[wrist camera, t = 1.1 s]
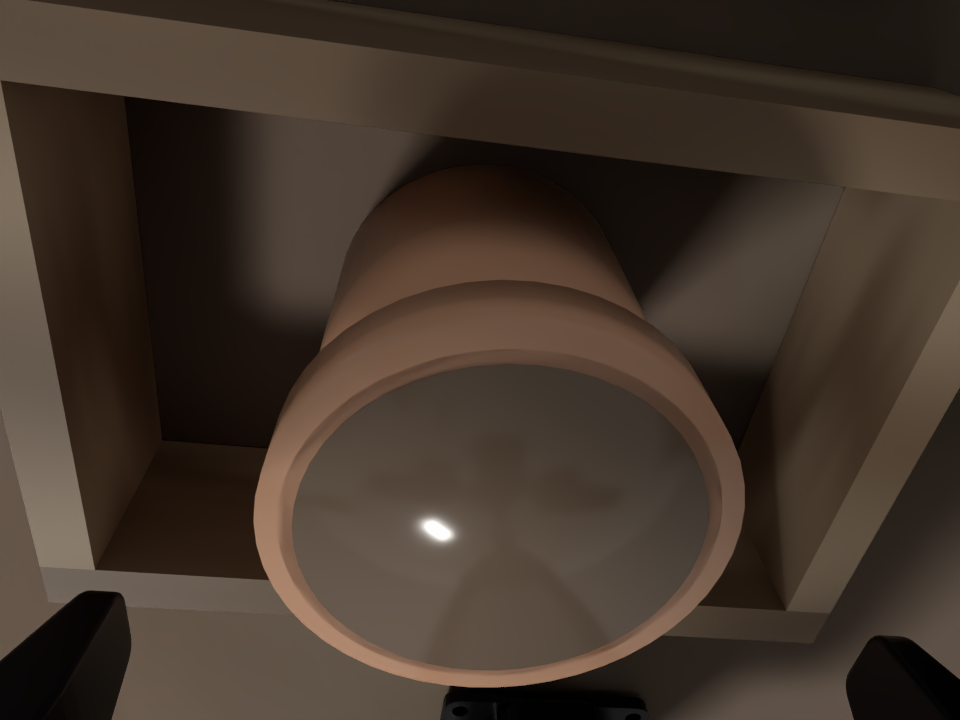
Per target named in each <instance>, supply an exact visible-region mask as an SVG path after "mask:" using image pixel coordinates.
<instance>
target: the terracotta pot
mask: <svg viewBox="0 0 960 720" xmlns="http://www.w3.org/2000/svg"><path fill="white" fill-rule="evenodd" d="M744 510H745V484H744V478H743V473H742V468H741V462H740V459H739V456H738V454H737V451H736V448H735V446H734V443H733V441H732V438H731V436H730V434H729V432H728V430H727V428H726V427H725V425H724V423H723V421H722V419H721V417H720V415H719V414H718V412H717V410H716V408H715V406H714V404H713V402H712V401H711V399H710V397H709V395H708V393H707V391H706V390H705V388H704V386H703V384H702V382H701V381H700V379H699V377H698V376H697V374H696V372H695V371H694V369H693V367H692V366H691V364H690V363H689V361H688V360H687V359H686V358H685V357H684V355H683V354H682V353H681V352H680V351H679V350H678V348H677V347H676V346H675V345H674V344H673V343H672V342H671V341H670V340H669V339H668V338H667V337H665V336H664V335H663V334H662V333H661V332H660V331H658V330H657V329H656V328H655V327H654V326H653V325H651V324H650V323H648V322H647V320H646V317H645V315H644V313H643V311H642V309H641V307H640V305H639V303H638V301H637V299H636V297H635V295H634V293H633V291H632V289H631V287H630V285H629V283H628V281H627V279H626V277H625V274H624V272H623V270H622V268H621V266H620V264H619V262H618V260H617V258H616V256H615V254H614V252H613V250H612V248H611V246H610V244H609V242H608V240H607V238H606V236H605V234H604V232H603V231H602V229H601V227H600V226H599V224H598V222H597V221H596V219H595V218H594V217H593V216H592V215H591V213H590V212H589V211H588V210H587V209H586V207H585V206H584V205H582V204H581V203H580V202H579V201H578V200H577V199H576V198H575V197H574V196H572V195H571V194H570V193H568V192H567V191H565V190H564V189H562V188H561V187H559V186H558V185H557V184H555V183H553V182H551V181H549V180H547V179H545V178H543V177H540V176H538V175H535V174H532V173H529V172H526V171H523V170H520V169H515V168H510V167H505V166H497V165H468V166H458V167H453V168H448V169H443V170H440V171H437V172H434V173H431V174H428V175H425V176H422V177H420V178H418V179H416V180H414V181H412V182H410V183H408V184H406V185H404V186H403V187H401V188H400V189H398V190H397V191H395V192H394V193H392V194H391V195H389V196H388V197H387V198H386V199H385V200H384V201H383V202H381V203H380V204H379V205H378V206H377V207H376V208H375V209H374V210H373V211H372V212H371V214H370V215H369V216H368V217H367V218H366V220H365V221H364V222H363V223H362V225H361V226H360V228H359V230H358V231H357V233H356V234H355V236H354V238H353V240H352V242H351V244H350V247H349V249H348V251H347V254H346V257H345V261H344V264H343V268H342V271H341V275H340V279H339V282H338V286H337V290H336V293H335V297H334V301H333V304H332V308H331V311H330V315H329V319H328V322H327V326H326V330H325V333H324V337H323V341H322V344H321V348H320V351H319V353H318V354H317V355H316V357H315V358H314V359H313V360H312V361H311V362H310V363H309V364H308V366H307V367H306V368H305V369H304V370H303V372H302V373H301V375H300V376H299V378H298V380H297V381H296V383H295V384H294V386H293V387H292V389H291V390H290V392H289V394H288V396H287V399H286V401H285V403H284V405H283V408H282V410H281V412H280V415H279V417H278V420H277V424H276V427H275V430H274V433H273V436H272V439H271V442H270V446H269V449H268V452H267V455H266V458H265V461H264V464H263V467H262V471H261V474H260V478H259V482H258V486H257V490H256V494H255V504H254V520H253V522H254V530H255V538H256V545H257V549H258V552H259V555H260V558H261V562H262V565H263V568H264V570H265V572H266V574H267V576H268V578H269V580H270V582H271V584H272V586H273V588H274V589H275V591H276V592H277V593H278V595H279V596H280V598H281V599H282V600H283V602H284V603H285V605H286V606H287V607H288V608H289V609H290V610H291V612H292V613H293V614H294V615H295V616H296V617H297V618H298V619H299V620H300V621H301V622H302V623H303V624H304V625H305V626H306V627H308V628H309V629H310V630H311V631H313V632H314V633H315V634H316V635H318V636H319V637H320V638H321V639H322V640H324V641H325V642H327V643H329V644H330V645H332V646H333V647H335V648H337V649H338V650H340V651H341V652H343V653H345V654H347V655H349V656H351V657H353V658H355V659H357V660H359V661H361V662H363V663H365V664H367V665H370V666H372V667H375V668H378V669H381V670H383V671H386V672H389V673H392V674H395V675H399V676H403V677H406V678H410V679H414V680H418V681H424V682H430V683H435V684H441V685H450V686H462V687H509V686H522V685H530V684H536V683H542V682H549V681H554V680H558V679H562V678H566V677H570V676H574V675H578V674H581V673H584V672H587V671H590V670H593V669H596V668H599V667H602V666H605V665H607V664H609V663H611V662H614V661H616V660H618V659H621V658H623V657H625V656H627V655H629V654H631V653H633V652H635V651H637V650H638V649H640V648H642V647H644V646H646V645H648V644H650V643H651V642H652V641H654V640H655V639H657V638H658V637H660V636H661V635H663V634H664V633H666V632H667V631H669V630H670V629H671V628H673V627H674V626H675V625H676V624H677V623H679V622H680V621H681V620H682V619H683V618H685V617H686V616H687V615H688V614H689V613H690V612H691V611H692V610H693V609H694V608H695V607H696V606H697V605H698V604H699V603H700V602H701V601H702V600H703V599H704V597H705V596H706V595H707V594H708V593H709V591H710V590H711V589H712V587H713V586H714V585H715V583H716V582H717V580H718V579H719V578H720V576H721V575H722V573H723V571H724V569H725V567H726V566H727V564H728V562H729V560H730V558H731V556H732V554H733V552H734V549H735V546H736V543H737V540H738V538H739V535H740V532H741V527H742V521H743V515H744Z"/></svg>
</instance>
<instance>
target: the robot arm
mask: <svg viewBox="0 0 960 720" xmlns="http://www.w3.org/2000/svg"><path fill="white" fill-rule="evenodd" d="M130 652H131V634H130V628H129V622H128V616H127V610H126V604H125V599H124V597H123V595H122V594H121V593H119V592H112V591H94V590H89V591H84V592H82V593H80V594H78V595H77V596H76V597H74V598H73V599H72V600H71V601H70V602H68V603H67V604H66V605H65V606H64V607H63V608H61V609H60V610H59V611H58V612H57V613H56V614H54V615H53V616H52V617H51V618H50V619H49V620H47V621H46V622H45V623H44V624H43V625H42V626H40V627H39V628H38V629H37V630H36V631H35V632H33V633H32V634H31V635H30V636H29V637H28V638H26V639H25V640H24V641H23V642H22V643H21V644H19V645H18V646H17V647H16V648H15V649H13V650H12V651H11V652H10V653H9V654H8V655H6V656H5V657H4V658H3V659H2V660H1V661H0V720H111V719H112V716H113V712H114V709H115V706H116V702H117V699H118V695H119V692H120V689H121V685H122V682H123V678H124V675H125V672H126V668H127V665H128V661H129V657H130ZM846 692H847V697H848V701H849V704H850V708H851V711H852V714H853V718H854V720H960V679H959V678H957V677H956V676H955V675H954V674H952V673H951V672H950V671H949V670H948V669H946V668H945V667H944V666H943V665H942V664H940V663H939V662H938V661H937V660H936V659H934V658H933V657H932V656H931V655H929V654H928V653H927V652H926V651H925V650H923V649H922V648H921V647H920V646H919V645H917V644H916V643H915V642H913V641H912V640H910V639H908V638H905V637H900V636H884V635H877V636H874V637H872V638H871V639H870V640H869V641H868V642H867V644H866V646H865V647H864V649H863V650H862V652H861V654H860V655H859V657H858V658H857V660H856V662H855V663H854V665H853V666H852V668H851V670H850V671H849V673H848V675H847V679H846ZM648 717H649V715H648V711H647V707H646V703H645V702H644V700H642V699H640V698H636V697H621V696H598V695H576V694H553V693H531V692H508V691H486V690H463V689H461V690H454V691H451V692H449V693H448V694H446V696H445V698H444V701H443V707H442V712H441V718H440V720H648Z"/></svg>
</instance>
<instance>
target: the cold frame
mask: <svg viewBox="0 0 960 720" xmlns="http://www.w3.org/2000/svg"><path fill="white" fill-rule="evenodd" d="M124 96H129V97H137V98H145V99H153V100H161V101H169V102H177V103H184V104H192V105H200V106H208V107H216V108H224V109H232V110H240V111H248V112H256V113H264V114H271V115H279V116H287V117H295V118H303V119H311V120H319V121H327V122H335V123H343V124H351V125H358V126H366V127H374V128H382V129H390V130H398V131H406V132H414V133H422V134H430V135H438V136H445V137H453V138H461V139H469V140H477V141H485V142H493V143H501V144H509V145H517V146H525V147H532V148H540V149H548V150H556V151H564V152H572V153H580V154H588V155H596V156H604V157H612V158H620V159H627V160H635V161H643V162H651V163H659V164H667V165H675V166H683V167H691V168H699V169H707V170H714V171H722V172H730V173H738V174H746V175H754V176H762V177H770V178H778V179H786V180H794V181H801V182H809V183H817V184H825V185H833V186H841V187H845V189H844V192H843V194H842V197H841V199H840V202H839V204H838V207H837V209H836V212H835V214H834V216H833V219H832V221H831V224H830V226H829V229H828V231H827V234H826V236H825V239H824V241H823V243H822V246H821V248H820V251H819V253H818V256H817V258H816V261H815V263H814V266H813V268H812V271H811V273H810V275H809V278H808V280H807V283H806V285H805V288H804V290H803V293H802V295H801V298H800V300H799V303H798V305H797V307H796V310H795V312H794V315H793V317H792V320H791V322H790V325H789V327H788V330H787V332H786V335H785V337H784V339H783V342H782V344H781V347H780V349H779V352H778V354H777V357H776V359H775V362H774V364H773V366H772V369H771V371H770V374H769V376H768V379H767V381H766V384H765V386H764V389H763V391H762V394H761V396H760V398H759V401H758V403H757V406H756V408H755V411H754V413H753V416H752V418H751V421H750V423H749V426H748V428H747V430H746V433H745V435H744V438H743V440H742V443H741V445H740V448H739V450H738V453H737V454H738V456H739V459H740V462H741V468H742V473H743V478H744V484H745V510H744V515H743V521H742V527H741V532H740V535H739V538H738V540H737V543H736V546H735V549H734V552H733V554H732V556H731V558H730V560H729V562H728V564H727V566H726V567H725V569H724V571H723V573H722V575H721V576H720V578H719V579H718V580H717V582H716V583H715V585H714V586H713V587H712V589H711V590H710V591H709V593H708V594H707V595H706V596H705V597H704V599H703V600H702V601H701V602H700V603H699V604H698V605H697V606H696V607H695V608H694V609H693V610H692V611H691V612H690V613H689V614H688V615H687V616H686V617H685V618H683V619H682V620H681V621H680V622H679V623H677V624H676V625H675V626H674V627H673V628H671V629H670V630H669V631H667V632H666V633H664V634H663V635H662V636H680V637H699V638H717V639H736V640H754V641H773V642H791V643H810V644H813V643H814V641H815V639H816V637H817V636H818V634H819V632H820V630H821V629H822V627H823V625H824V623H825V622H826V620H827V618H828V617H829V615H830V613H831V611H832V610H833V608H834V606H835V604H836V603H837V601H838V599H839V597H840V596H841V594H842V592H843V590H844V589H845V587H846V585H847V583H848V582H849V580H850V578H851V576H852V575H853V573H854V571H855V569H856V568H857V566H858V564H859V562H860V561H861V559H862V557H863V555H864V554H865V552H866V550H867V548H868V547H869V545H870V543H871V542H872V540H873V538H874V536H875V535H876V533H877V531H878V529H879V528H880V526H881V524H882V522H883V521H884V519H885V517H886V515H887V514H888V512H889V510H890V508H891V507H892V505H893V503H894V501H895V500H896V498H897V496H898V494H899V493H900V491H901V489H902V487H903V486H904V484H905V482H906V480H907V479H908V477H909V475H910V473H911V472H912V470H913V468H914V466H915V465H916V463H917V461H918V460H919V458H920V456H921V454H922V453H923V451H924V449H925V447H926V446H927V444H928V442H929V440H930V439H931V437H932V435H933V433H934V432H935V430H936V428H937V426H938V425H939V423H940V421H941V419H942V418H943V416H944V414H945V412H946V411H947V409H948V407H949V405H950V404H951V402H952V400H953V398H954V397H955V395H956V393H957V391H958V390H959V388H960V96H957V95H954V94H952V93H949V92H946V91H944V90H941V89H938V88H933V87H926V86H919V85H912V84H905V83H898V82H891V81H884V80H877V79H870V78H863V77H856V76H849V75H842V74H836V73H829V72H822V71H815V70H808V69H801V68H794V67H787V66H780V65H773V64H766V63H759V62H752V61H745V60H738V59H731V58H724V57H718V56H711V55H704V54H697V53H690V52H683V51H676V50H669V49H662V48H655V47H648V46H641V45H634V44H627V43H620V42H613V41H607V40H600V39H593V38H586V37H579V36H572V35H565V34H558V33H551V32H544V31H537V30H530V29H523V28H516V27H509V26H502V25H495V24H489V23H482V22H475V21H468V20H461V19H454V18H447V17H440V16H433V15H426V14H419V13H412V12H405V11H398V10H391V9H384V8H377V7H371V6H364V5H357V4H350V3H343V2H336V1H329V0H0V408H1V412H2V416H3V420H4V424H5V428H6V432H7V436H8V440H9V444H10V449H11V453H12V457H13V461H14V465H15V469H16V473H17V477H18V481H19V485H20V489H21V493H22V497H23V501H24V505H25V509H26V513H27V517H28V521H29V525H30V529H31V533H32V537H33V541H34V545H35V549H36V553H37V557H38V562H39V566H40V570H41V574H42V578H43V582H44V586H45V590H46V594H47V598H48V602H53V603H68V602H70V601H71V600H72V599H73V598H74V597H76V596H77V595H78V594H80V593H82V592H84V591H89V590H94V591H112V592H119V593H121V594H122V595H123V597H124V599H125V604H126V607H145V608H163V609H182V610H200V611H219V612H237V613H256V614H274V615H293V616H295V615H294V614H293V613H292V612H291V610H290V609H289V608H288V607H287V606H286V605H285V603H284V602H283V600H282V599H281V598H280V596H279V595H278V593H277V592H276V591H275V589H274V588H273V586H272V584H271V582H270V580H269V578H268V576H267V574H266V572H265V570H264V568H263V565H262V562H261V558H260V555H259V552H258V549H257V545H256V538H255V530H254V522H253V520H254V504H255V494H256V490H257V486H258V482H259V478H260V474H261V471H262V467H263V464H264V461H265V458H266V455H267V452H268V449H265V448H252V447H240V446H227V445H214V444H201V443H188V442H176V441H163V440H162V433H161V424H160V415H159V406H158V397H157V388H156V379H155V370H154V361H153V352H152V343H151V334H150V325H149V316H148V307H147V298H146V289H145V280H144V271H143V262H142V253H141V243H140V234H139V225H138V216H137V207H136V198H135V189H134V180H133V171H132V162H131V153H130V144H129V135H128V126H127V117H126V108H125V99H124Z"/></svg>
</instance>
